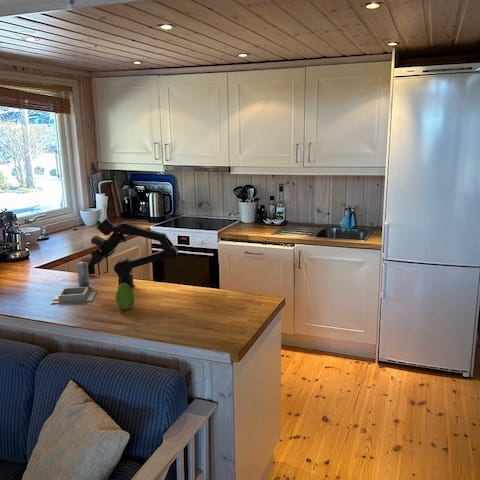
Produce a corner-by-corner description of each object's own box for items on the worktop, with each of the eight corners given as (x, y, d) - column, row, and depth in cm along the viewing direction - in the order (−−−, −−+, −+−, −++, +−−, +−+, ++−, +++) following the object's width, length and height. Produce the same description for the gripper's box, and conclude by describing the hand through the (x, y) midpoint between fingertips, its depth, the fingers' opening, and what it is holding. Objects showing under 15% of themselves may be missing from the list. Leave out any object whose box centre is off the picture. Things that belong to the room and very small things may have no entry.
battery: (95, 274, 267) (93, 256, 265) (82, 275, 264) (80, 258, 262) (94, 272, 271) (92, 255, 269) (81, 273, 268) (80, 256, 266)
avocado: (125, 313, 205) (123, 286, 203) (112, 310, 209) (110, 283, 207) (139, 307, 212) (137, 281, 209) (126, 304, 216) (124, 279, 213)
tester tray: (95, 292, 234) (95, 285, 233) (92, 301, 221) (91, 294, 221) (57, 295, 231) (56, 288, 231) (51, 304, 219) (50, 296, 218)
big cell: (91, 286, 245) (89, 261, 242) (85, 289, 240) (82, 263, 238) (83, 285, 247) (81, 260, 244) (77, 288, 242) (74, 263, 239)
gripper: (107, 227, 245) (88, 248, 249) (93, 234, 227) (72, 257, 230) (123, 242, 246) (104, 263, 249) (110, 250, 228) (90, 272, 231)
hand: (93, 263), depth 240 cm, fingers open, 9 cm apart
